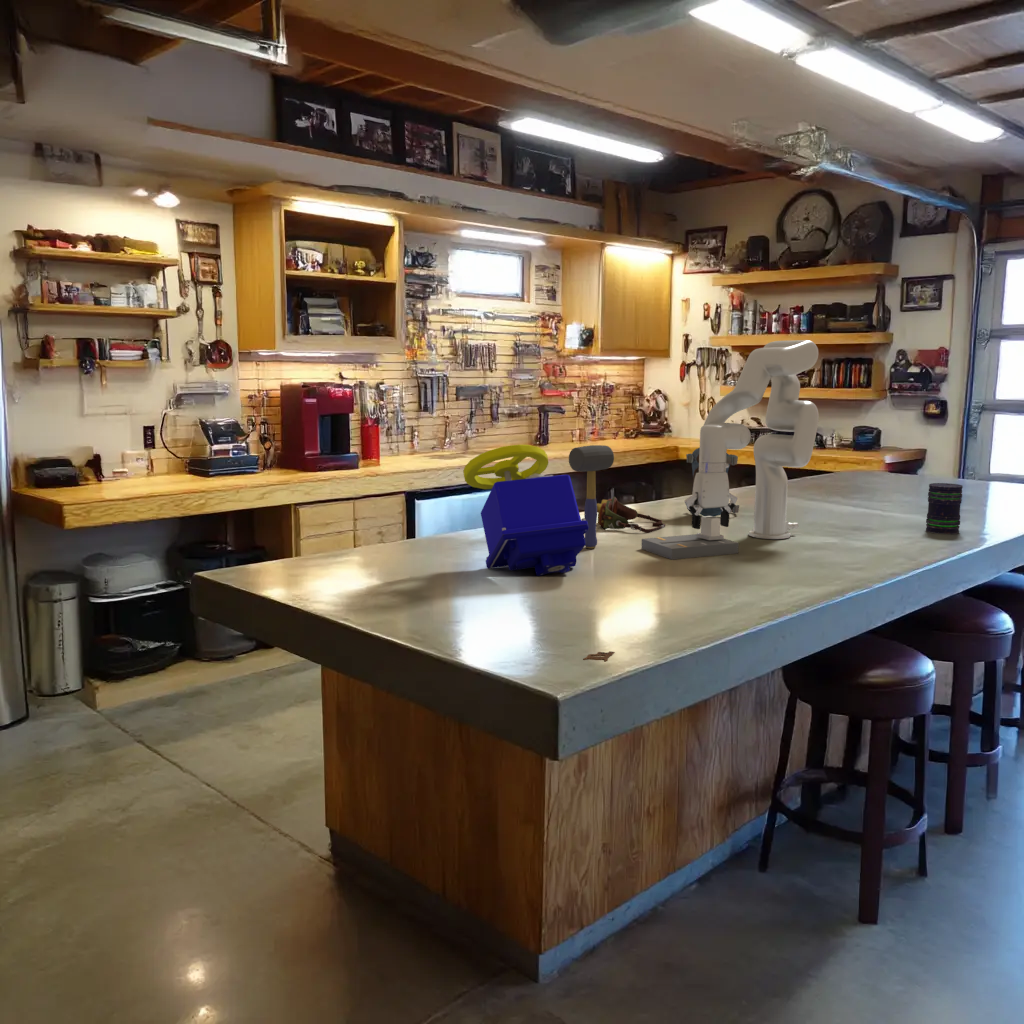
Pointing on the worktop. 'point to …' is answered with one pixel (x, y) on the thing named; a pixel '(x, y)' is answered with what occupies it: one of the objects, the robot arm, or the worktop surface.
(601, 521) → the goggles
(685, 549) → the console
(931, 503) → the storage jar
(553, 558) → the blue valve actuator
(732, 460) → the knee pad
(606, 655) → the brown piece
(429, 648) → the worktop surface
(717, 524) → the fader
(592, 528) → the rubber mallet
